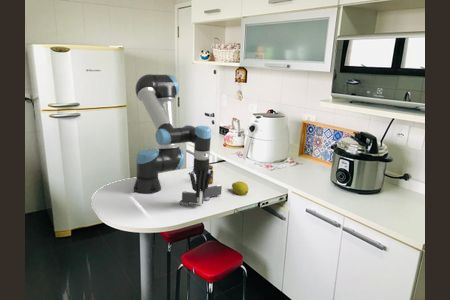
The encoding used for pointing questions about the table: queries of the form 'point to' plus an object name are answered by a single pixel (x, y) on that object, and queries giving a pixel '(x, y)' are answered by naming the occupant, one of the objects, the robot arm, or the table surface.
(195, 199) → the grey lever handle
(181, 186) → the table surface
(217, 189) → the grey lever handle
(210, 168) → the condiment
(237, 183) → the lemon
